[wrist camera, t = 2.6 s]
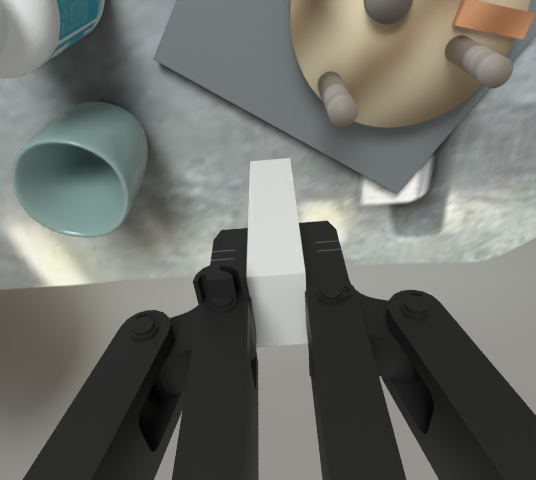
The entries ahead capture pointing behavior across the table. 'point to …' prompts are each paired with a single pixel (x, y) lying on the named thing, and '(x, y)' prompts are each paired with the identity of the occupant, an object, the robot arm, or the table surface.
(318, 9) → the disc
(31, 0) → the pill bottle
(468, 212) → the table surface
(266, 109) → the stand
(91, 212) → the cup
